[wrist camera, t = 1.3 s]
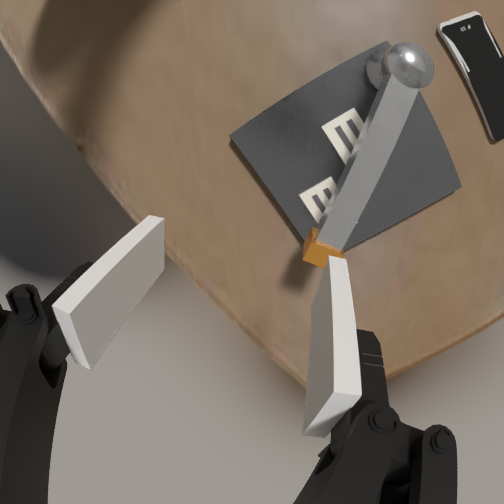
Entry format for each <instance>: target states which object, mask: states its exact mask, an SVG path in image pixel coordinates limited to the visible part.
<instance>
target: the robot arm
mask: <svg viewBox="0 0 504 504" xmlns="http://www.w3.org/2000/svg"><path fill="white" fill-rule="evenodd" d="M163 270H164V218H160V217H156V216H151V215H149V216H148V217H147V218H145V219H144V220H143V221H142V222H141V223H139V224H138V225H137V226H136V227H135V228H134V229H132V230H131V231H130V232H129V233H128V234H127V235H125V236H124V237H123V238H122V239H121V240H120V241H119V242H117V243H116V244H115V245H114V246H113V247H112V248H111V249H110V250H109V251H107V252H106V253H105V254H104V255H103V256H102V257H101V258H100V259H99V260H98V261H97V262H95V263H92V262H88V263H85V264H84V265H81V266H80V267H78V268H77V269H76V270H75V271H73V272H72V273H71V274H70V276H68V277H67V278H66V279H65V280H64V281H63V283H61V284H60V285H59V286H58V287H56V288H55V289H54V290H53V291H52V292H51V293H50V294H49V295H48V296H47V297H46V298H45V299H44V300H43V301H42V302H41V299H40V296H39V293H38V290H37V288H35V286H34V285H30V284H21V285H18V286H15V287H14V288H12V289H11V290H10V291H9V292H8V293H7V294H6V298H7V300H8V303H9V305H10V308H11V310H12V311H7V310H3V309H2V306H1V304H0V504H48V481H49V469H50V458H51V450H52V442H53V436H54V429H55V423H56V417H57V412H58V406H59V402H60V397H61V391H62V388H63V383H64V379H65V375H66V371H67V362H66V359H65V358H66V357H67V355H68V354H69V353H71V355H72V357H73V359H74V362H76V363H78V364H80V365H81V366H83V367H85V368H87V369H89V370H92V368H93V367H94V365H95V364H96V362H97V361H98V359H99V358H100V356H101V355H102V353H103V352H104V350H105V349H106V347H107V346H108V345H109V343H110V342H111V340H112V339H113V337H114V336H115V335H116V333H117V332H118V330H119V329H120V327H121V326H122V325H123V324H124V322H125V321H126V319H127V318H128V317H129V315H130V314H131V313H132V311H133V310H134V308H135V307H136V306H137V304H138V303H139V302H140V300H141V299H142V298H143V296H144V295H145V294H146V292H147V291H148V290H149V288H150V287H151V286H152V284H153V283H154V282H155V280H156V279H157V278H158V277H159V275H160V274H161V273H162V271H163ZM330 432H331V443H330V444H329V445H328V446H327V447H326V448H325V449H323V450H322V451H321V453H320V454H319V455H318V456H319V457H321V458H320V460H319V462H318V463H317V465H316V467H315V469H314V471H313V472H312V474H311V476H310V477H309V479H308V481H307V483H306V484H305V486H304V488H303V489H302V491H301V492H300V494H299V496H298V497H297V499H296V500H295V502H294V503H293V504H457V447H456V440H455V437H454V435H453V434H452V432H451V431H450V430H449V429H448V428H447V427H445V426H442V425H432V426H431V427H429V428H428V429H426V430H425V431H423V430H420V429H417V428H414V427H411V426H409V425H406V424H404V423H402V422H401V421H400V419H399V416H398V414H397V413H396V412H395V411H394V409H392V408H391V407H390V406H389V402H388V393H387V386H386V378H385V371H384V368H383V358H382V352H381V346H380V343H379V341H378V339H377V338H376V336H375V334H374V333H373V332H370V331H365V330H359V329H356V324H355V316H354V308H353V301H352V294H351V287H350V280H349V274H348V268H347V262H346V259H342V258H338V257H334V256H330V255H329V257H328V260H327V263H326V266H325V269H324V272H323V275H322V277H321V280H320V283H319V286H318V289H317V292H316V295H315V297H314V300H313V303H312V311H311V332H310V349H309V364H308V377H307V389H306V400H305V411H304V421H303V431H302V435H306V436H313V437H322V438H325V437H326V436H327V435H328V434H329V433H330Z"/></svg>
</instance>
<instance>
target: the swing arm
mask: <svg viewBox="0 0 504 504" xmlns="http://www.w3.org/2000/svg"><path fill="white" fill-rule="evenodd" d="M381 68H382V71H383V74H384V77H383V80H382V82H381V85H380V87H379V90H378V92H377V95H376V97H375V99H374V102H373V104H372V107H371V109H370V111H369V114H368V116H367V118H366V121H365V123H364V125H363V128H362V130H361V132H360V135H359V137H358V139H357V141H356V144H355V146H354V148H353V150H352V153H351V155H350V157H349V159H348V162H347V164H346V166H345V168H344V170H343V173H342V175H341V177H340V179H339V181H338V183H337V185H336V188H335V190H334V192H333V194H332V196H331V198H330V200H329V202H328V204H327V207H326V209H325V211H324V213H323V215H322V217H321V219H320V221H319V223H318V225H317V227H316V228H314V227H312V228H311V230H310V232H309V234H308V236H307V238H306V240H305V242H304V248H303V260H304V261H306V262H309V263H311V264H314V265H316V266H319V267H321V268H324V269H325V266H326V263H327V260H328V257H329V255H330V256H334V257H338V258H342V259H343V257H344V251H343V247H344V245H345V243H346V241H347V240H348V238H349V236H350V234H351V232H352V230H353V229H354V227H355V225H356V223H357V221H358V219H359V217H360V215H361V214H362V212H363V210H364V208H365V206H366V204H367V202H368V200H369V198H370V196H371V194H372V192H373V190H374V188H375V186H376V184H377V182H378V180H379V178H380V176H381V174H382V172H383V170H384V168H385V166H386V164H387V162H388V159H389V157H390V155H391V153H392V151H393V149H394V147H395V144H396V142H397V140H398V138H399V135H400V133H401V131H402V129H403V126H404V124H405V122H406V119H407V117H408V115H409V112H410V110H411V108H412V105H413V103H414V100H415V98H416V95H417V93H418V90H419V88H423V87H425V86H427V85H428V84H429V83H430V82H431V81H432V79H433V76H434V65H433V62H432V60H431V57H430V56H429V54H428V53H427V52H426V51H425V50H424V49H423V48H422V47H420V46H419V45H417V44H414V43H411V42H401V43H398V44H396V45H394V46H393V47H391V48H390V49H388V50H387V51H386V52H385V53H384V54H383V56H382V59H381Z"/></svg>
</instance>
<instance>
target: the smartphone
mask: <svg viewBox="0 0 504 504" xmlns="http://www.w3.org/2000/svg"><path fill="white" fill-rule="evenodd" d="M437 31H438V33H439V34H440V36H441V38H442V39H443V41H444V42H445V44H446V46H447V47H448V49H449V51H450V52H451V54H452V56H453V57H454V59H455V61H456V63H457V65H458V66H459V68H460V70H461V72H462V74H463V76H464V78H465V80H466V82H467V84H468V86H469V88H470V90H471V92H472V94H473V96H474V98H475V101H476V103H477V105H478V108H479V110H480V112H481V115H482V117H483V120H484V122H485V125H486V127H487V130H488V133H489V135H490V137H491V138H492V139H494V140H497V141H498V140H500V139H502V138H504V55H503V53H502V51H501V49H500V48H499V46H498V44H497V42H496V40H495V38H494V36H493V34H492V33H491V31H490V29H489V27H488V26H487V24H486V22H485V21H484V19H483V17H482V16H481V15H480V14H479V13H478V12H475V11H474V12H471V13H468V14H465V15H462V16H459V17H456V18H454V19H451V20H448V21H445V22H443V23H441V24H439V25H438V26H437Z"/></svg>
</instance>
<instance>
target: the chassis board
mask: <svg viewBox="0 0 504 504" xmlns="http://www.w3.org/2000/svg"><path fill="white" fill-rule="evenodd" d="M390 48H391V45H390V44H389V42H388V41H385V42H383V43H381V44H379V45H377V46H375V47H373V48H371V49H369V50H367V51H365V52H363V53H361V54H359V55H357V56H355V57H353V58H351V59H350V60H348V61H346V62H344V63H342V64H340V65H338V66H337V67H335V68H333V69H331V70H329V71H328V72H326V73H324V74H322V75H321V76H319V77H317V78H316V79H314V80H312V81H311V82H309V83H307V84H306V85H304V86H302V87H301V88H299V89H297V90H296V91H294V92H293V93H291V94H289V95H288V96H286V97H285V98H283V99H282V100H280V101H278V102H277V103H275V104H274V105H272V106H271V107H269V108H268V109H266V110H265V111H263V112H262V113H260V114H259V115H257V116H256V117H255V118H253V119H252V120H250V121H249V122H247V123H246V124H245V125H243V126H242V127H240V128H239V129H238V130H236V131H235V132H233V133H232V134H231V135H229V136H230V137H231V139H232V140H233V141H234V143H235V144H236V145H237V147H238V148H239V149H240V151H241V152H242V153H243V155H244V156H245V158H246V159H247V160H248V162H249V163H250V164H251V166H252V167H253V168H254V170H255V171H256V173H257V174H258V175H259V177H260V178H261V179H262V181H263V182H264V184H265V185H266V186H267V188H268V189H269V191H270V192H271V193H272V195H273V196H274V198H275V199H276V201H277V202H278V203H279V205H280V206H281V208H282V209H283V211H284V212H285V213H286V215H287V216H288V218H289V219H290V221H291V222H292V224H293V225H294V227H295V228H296V229H297V231H298V232H299V234H300V235H301V237H302V238H303V240H304V241H305V240H306V238H307V236H308V234H309V232H310V230H311V228H312V227H314V228H316V227H317V225H318V223H317V222H316V220H315V219H314V217H313V216H312V214H311V213H310V211H309V210H308V208H307V207H306V205H305V203H304V202H303V200H302V199H301V197H300V196H299V195H300V194H301V193H303V192H305V191H306V190H308V189H310V188H312V187H313V186H315V185H317V184H318V183H320V182H322V181H324V180H325V179H327V178H329V177H332V179H333V181H334V182H335V184H336V185H337V183H338V181H339V179H340V177H341V175H342V173H343V170H344V168H345V166H346V165H345V163H344V162H343V160H342V158H341V157H340V155H339V153H338V152H337V150H336V149H335V147H334V146H333V144H332V142H331V141H330V139H329V138H328V136H327V135H326V133H325V132H324V130H323V129H322V127H321V126H323V125H325V124H326V123H328V122H330V121H332V120H333V119H335V118H337V117H338V116H340V115H342V114H344V113H345V112H347V111H349V110H351V109H352V108H355V110H356V111H357V113H358V115H359V116H360V118H361V119H362V121H363V123H365V121H366V118H367V116H368V114H369V111H370V109H371V107H372V104H373V102H374V99H375V97H376V95H377V92H378V90H379V87H380V85H381V82H382V80H383V77H384V74H383V71H382V68H381V59H382V56H383V54H384V53H385V52H386V51H387V50H388V49H390ZM461 187H462V186H461V183H460V180H459V177H458V175H457V172H456V169H455V167H454V164H453V162H452V159H451V157H450V154H449V152H448V149H447V147H446V145H445V142H444V140H443V138H442V135H441V133H440V131H439V129H438V127H437V125H436V123H435V120H434V118H433V116H432V114H431V112H430V110H429V108H428V107H427V105H426V103H425V101H424V99H423V97H422V95H421V93H420V92H419V90H418V93H417V95H416V98H415V100H414V103H413V105H412V108H411V110H410V112H409V115H408V117H407V119H406V122H405V124H404V126H403V129H402V131H401V133H400V135H399V138H398V140H397V142H396V144H395V147H394V149H393V151H392V153H391V155H390V157H389V159H388V162H387V164H386V166H385V168H384V170H383V172H382V174H381V176H380V178H379V180H378V182H377V184H376V186H375V188H374V190H373V192H372V194H371V196H370V198H369V200H368V202H367V204H366V206H365V208H364V210H363V212H362V214H361V215H360V217H359V219H358V221H357V222H358V223H356V225H355V227H354V229H353V230H352V232H351V234H350V236H349V238H348V240H347V241H346V243H345V245H344V247H343V251H344V250H346V249H348V248H350V247H352V246H354V245H356V244H358V243H360V242H362V241H364V240H366V239H368V238H370V237H372V236H373V235H375V234H377V233H379V232H381V231H383V230H385V229H387V228H389V227H390V226H392V225H394V224H396V223H398V222H400V221H402V220H403V219H405V218H407V217H409V216H411V215H413V214H414V213H416V212H418V211H420V210H422V209H424V208H425V207H427V206H429V205H431V204H432V203H434V202H436V201H438V200H440V199H441V198H443V197H445V196H447V195H448V194H450V193H452V192H454V191H455V190H457V189H459V188H461Z"/></svg>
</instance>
